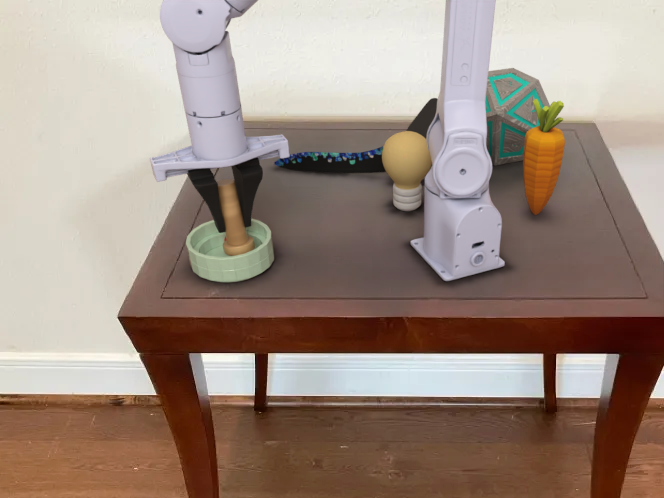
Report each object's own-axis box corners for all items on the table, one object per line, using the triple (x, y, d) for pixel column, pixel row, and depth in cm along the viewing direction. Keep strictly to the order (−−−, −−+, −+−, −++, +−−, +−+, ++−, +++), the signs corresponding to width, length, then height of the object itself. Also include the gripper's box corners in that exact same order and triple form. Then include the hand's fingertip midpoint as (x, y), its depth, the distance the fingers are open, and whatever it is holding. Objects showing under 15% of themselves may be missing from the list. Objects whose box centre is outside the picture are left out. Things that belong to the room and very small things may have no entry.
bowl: (285, 273, 84) (281, 247, 82) (202, 293, 81) (196, 266, 79) (261, 235, 91) (257, 210, 89) (183, 253, 88) (178, 227, 85)
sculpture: (526, 175, 121) (519, 186, 93) (454, 137, 122) (426, 137, 94) (565, 100, 117) (571, 89, 89) (491, 61, 117) (472, 38, 89)
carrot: (509, 209, 96) (521, 94, 86) (543, 203, 97) (558, 89, 88) (527, 226, 92) (541, 109, 83) (561, 220, 94) (579, 103, 84)
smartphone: (430, 174, 103) (401, 134, 114) (434, 177, 104) (406, 137, 115) (465, 130, 100) (432, 93, 112) (469, 133, 101) (437, 97, 112)
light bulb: (400, 223, 93) (399, 147, 87) (374, 203, 97) (371, 130, 91) (440, 210, 96) (443, 136, 90) (413, 191, 100) (414, 119, 94)
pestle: (258, 250, 84) (243, 182, 80) (228, 258, 83) (211, 190, 79) (250, 241, 87) (235, 175, 83) (221, 248, 86) (204, 182, 82)
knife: (488, 176, 101) (486, 144, 98) (484, 185, 98) (482, 153, 96) (285, 173, 109) (279, 144, 106) (277, 182, 107) (270, 152, 104)
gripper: (269, 85, 80) (283, 198, 89) (134, 106, 76) (162, 223, 84) (289, 106, 75) (302, 224, 84) (146, 130, 71) (175, 252, 79)
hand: (233, 225), depth 84 cm, fingers closed on pestle, 2 cm apart
